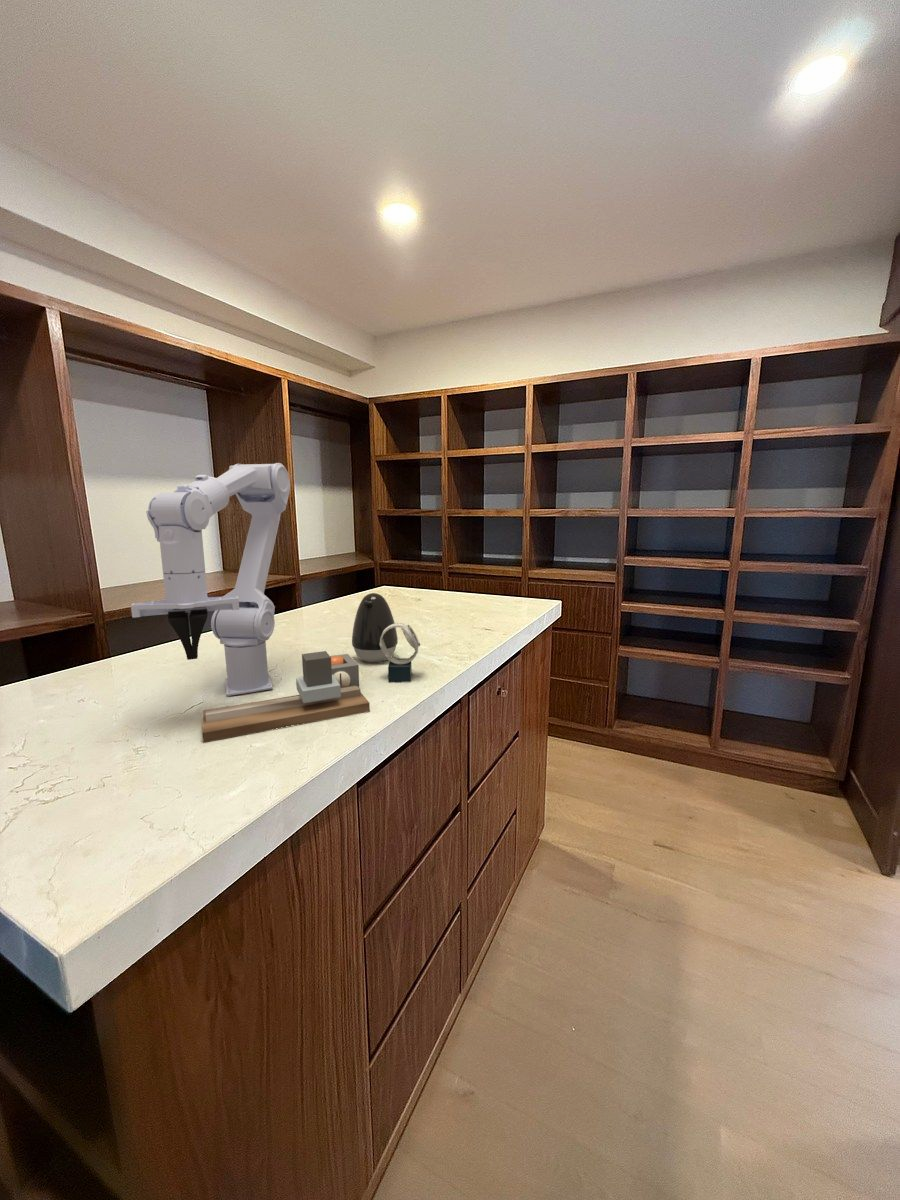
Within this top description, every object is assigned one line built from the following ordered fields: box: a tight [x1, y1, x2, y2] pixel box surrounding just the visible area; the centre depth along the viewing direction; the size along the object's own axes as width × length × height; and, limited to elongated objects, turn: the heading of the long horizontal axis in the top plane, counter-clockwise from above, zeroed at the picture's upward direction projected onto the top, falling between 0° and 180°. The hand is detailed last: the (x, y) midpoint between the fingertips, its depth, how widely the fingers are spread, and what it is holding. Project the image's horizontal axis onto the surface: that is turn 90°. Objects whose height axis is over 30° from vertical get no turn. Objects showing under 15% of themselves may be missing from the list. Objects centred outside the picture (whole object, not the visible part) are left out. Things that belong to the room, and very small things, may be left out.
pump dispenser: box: [351, 592, 399, 663], centre depth 108 cm, size 10×10×15 cm
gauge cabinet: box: [331, 653, 360, 688], centre depth 91 cm, size 8×7×5 cm
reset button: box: [329, 655, 343, 665], centre depth 91 cm, size 3×3×2 cm
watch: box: [380, 622, 421, 683], centre depth 96 cm, size 6×8×11 cm
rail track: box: [201, 686, 371, 744], centre depth 79 cm, size 9×25×3 cm, turn 116°
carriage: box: [295, 650, 341, 703], centre depth 80 cm, size 7×6×6 cm
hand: (192, 657), depth 76 cm, fingers closed
